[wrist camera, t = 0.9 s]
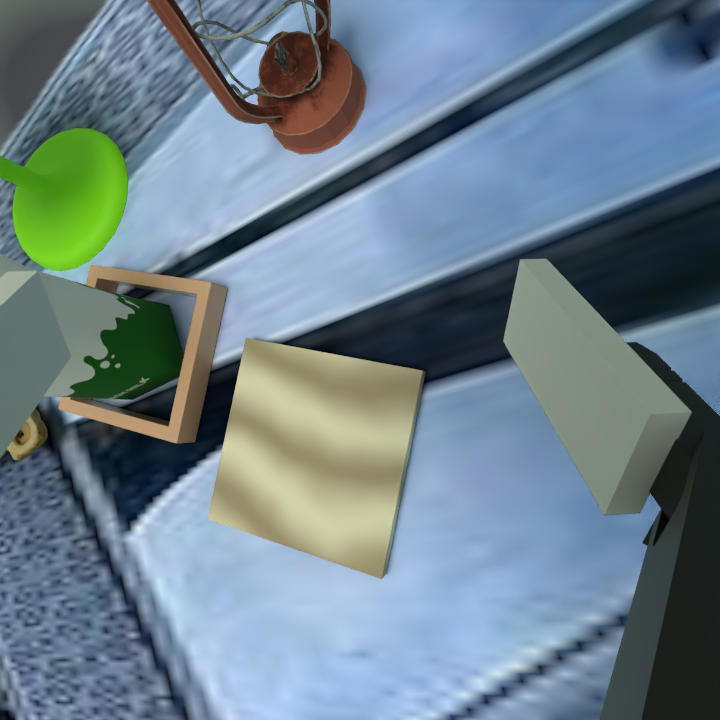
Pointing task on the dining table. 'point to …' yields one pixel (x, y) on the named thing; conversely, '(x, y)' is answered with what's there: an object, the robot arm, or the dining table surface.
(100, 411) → the holder
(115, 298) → the green white milk carton
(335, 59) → the lantern
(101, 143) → the wineglass
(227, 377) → the dining table surface
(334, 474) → the board
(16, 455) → the oil lamp
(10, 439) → the robot arm
